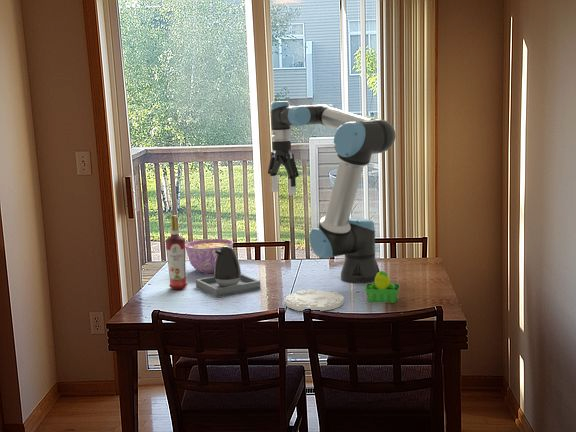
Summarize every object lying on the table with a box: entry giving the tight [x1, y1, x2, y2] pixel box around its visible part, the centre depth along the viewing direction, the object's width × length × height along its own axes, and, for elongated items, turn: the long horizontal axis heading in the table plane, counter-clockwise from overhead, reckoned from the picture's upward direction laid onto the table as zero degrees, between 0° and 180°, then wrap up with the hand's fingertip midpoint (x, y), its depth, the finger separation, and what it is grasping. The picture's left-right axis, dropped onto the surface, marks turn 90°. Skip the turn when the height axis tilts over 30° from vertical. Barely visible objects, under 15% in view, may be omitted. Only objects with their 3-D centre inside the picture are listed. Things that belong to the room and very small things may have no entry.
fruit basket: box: [364, 270, 401, 304], centre depth 248 cm, size 11×9×11 cm
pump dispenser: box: [213, 246, 242, 287], centre depth 273 cm, size 10×10×15 cm
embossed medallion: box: [284, 288, 344, 312], centre depth 249 cm, size 20×20×3 cm
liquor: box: [164, 214, 188, 291], centre depth 275 cm, size 7×7×28 cm
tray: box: [195, 273, 261, 298], centre depth 274 cm, size 18×18×3 cm
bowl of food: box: [185, 238, 234, 274], centre depth 302 cm, size 20×20×12 cm
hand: (283, 193), depth 294 cm, fingers open, 13 cm apart
